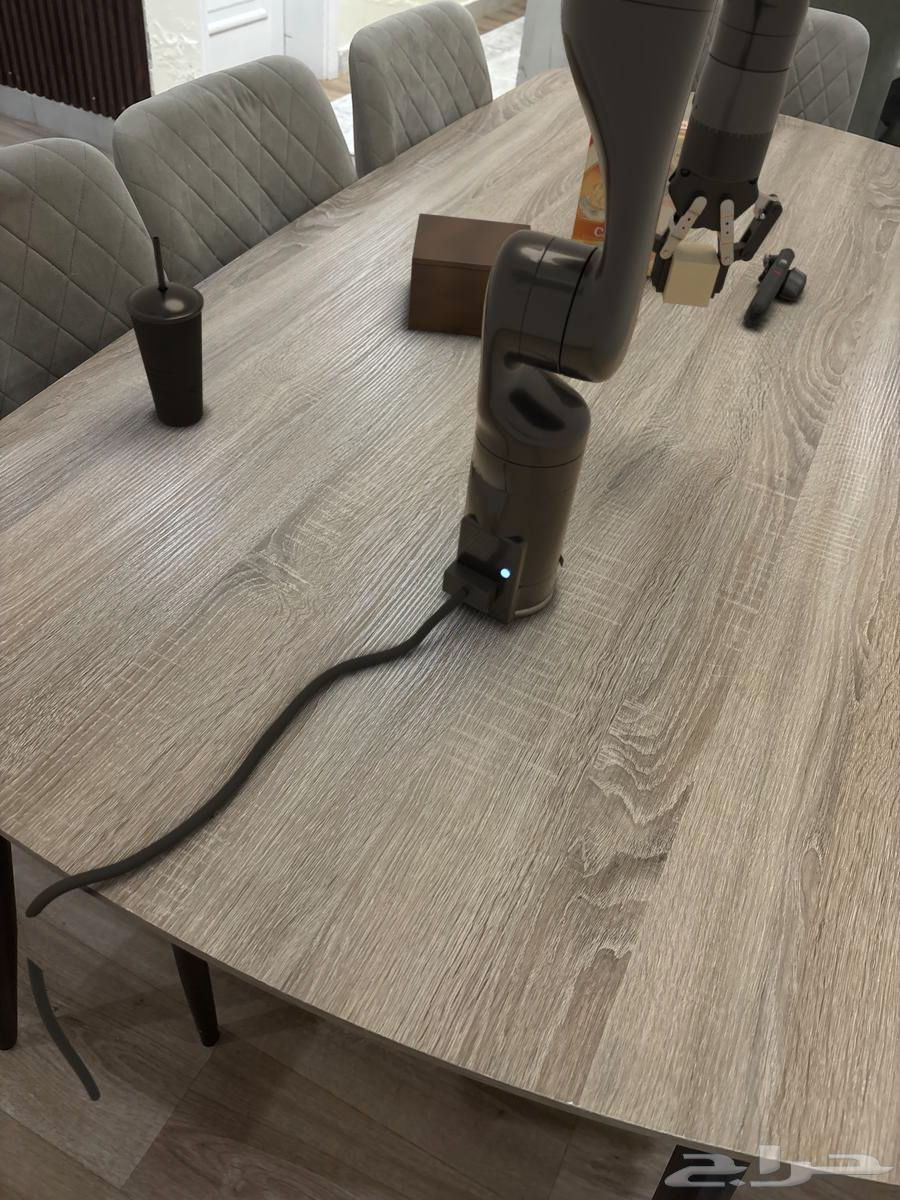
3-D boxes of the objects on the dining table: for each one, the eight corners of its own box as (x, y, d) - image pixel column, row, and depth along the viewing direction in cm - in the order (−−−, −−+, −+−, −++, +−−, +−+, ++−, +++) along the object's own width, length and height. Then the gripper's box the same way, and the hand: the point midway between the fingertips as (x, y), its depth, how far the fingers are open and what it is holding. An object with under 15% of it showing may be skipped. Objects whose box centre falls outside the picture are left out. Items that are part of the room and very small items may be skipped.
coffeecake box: (566, 261, 137) (592, 120, 123) (573, 241, 142) (599, 103, 128) (667, 281, 136) (705, 140, 122) (671, 260, 141) (708, 122, 127)
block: (701, 286, 98) (714, 244, 94) (707, 307, 95) (720, 265, 91) (659, 281, 98) (670, 239, 94) (663, 302, 94) (674, 260, 91)
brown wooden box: (520, 293, 129) (530, 224, 123) (521, 340, 121) (532, 269, 114) (414, 282, 129) (419, 212, 122) (407, 328, 120) (412, 257, 113)
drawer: (600, 297, 129) (612, 242, 123) (606, 340, 121) (619, 283, 115) (493, 286, 128) (500, 230, 123) (492, 328, 120) (500, 271, 115)
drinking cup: (146, 438, 100) (114, 258, 86) (142, 397, 105) (112, 221, 91) (219, 431, 102) (200, 255, 87) (212, 392, 107) (193, 219, 92)
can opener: (761, 273, 140) (774, 237, 136) (807, 288, 138) (821, 251, 134) (722, 320, 129) (734, 282, 125) (771, 337, 127) (785, 299, 123)
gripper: (658, 121, 81) (616, 302, 93) (822, 139, 81) (758, 318, 93) (650, 91, 86) (612, 267, 98) (804, 108, 86) (747, 281, 99)
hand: (683, 291), depth 96 cm, fingers closed on block, 4 cm apart
